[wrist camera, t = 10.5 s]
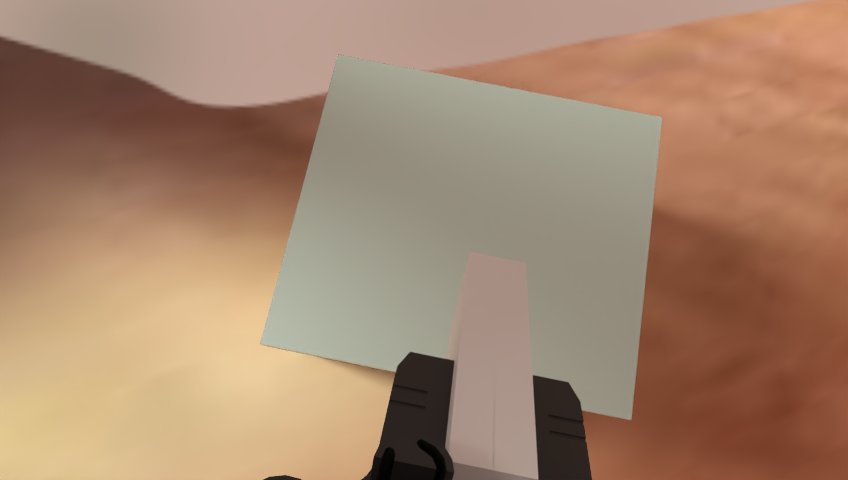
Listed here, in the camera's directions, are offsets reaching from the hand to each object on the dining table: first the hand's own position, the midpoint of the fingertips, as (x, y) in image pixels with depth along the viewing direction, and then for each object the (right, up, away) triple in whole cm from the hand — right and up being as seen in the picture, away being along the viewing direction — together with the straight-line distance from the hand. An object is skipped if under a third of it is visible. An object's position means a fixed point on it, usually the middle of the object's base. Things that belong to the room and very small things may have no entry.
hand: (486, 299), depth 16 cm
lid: (+1, +2, +13) cm, 13 cm away
